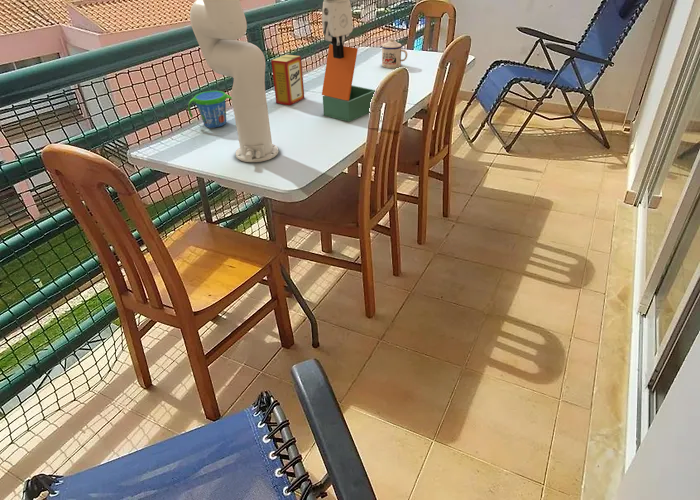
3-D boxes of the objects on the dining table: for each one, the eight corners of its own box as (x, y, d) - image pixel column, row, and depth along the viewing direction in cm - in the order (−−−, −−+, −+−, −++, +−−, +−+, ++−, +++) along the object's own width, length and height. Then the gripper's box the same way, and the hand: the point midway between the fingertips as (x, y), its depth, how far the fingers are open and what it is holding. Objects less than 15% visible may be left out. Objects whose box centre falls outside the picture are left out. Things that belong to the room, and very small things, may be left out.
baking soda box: (290, 105, 184) (285, 60, 175) (276, 103, 187) (271, 59, 178) (304, 98, 191) (300, 54, 182) (290, 96, 194) (286, 53, 185)
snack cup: (189, 131, 165) (182, 101, 159) (195, 120, 174) (189, 91, 168) (236, 128, 166) (231, 98, 160) (239, 118, 174) (235, 89, 169)
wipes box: (351, 103, 184) (351, 85, 180) (376, 109, 177) (376, 90, 174) (323, 115, 174) (322, 96, 170) (349, 121, 168) (348, 102, 164)
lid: (330, 44, 165) (329, 44, 164) (357, 48, 158) (356, 48, 158) (323, 94, 170) (321, 94, 169) (349, 100, 164) (347, 100, 163)
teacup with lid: (378, 67, 225) (378, 40, 218) (385, 62, 231) (386, 36, 225) (403, 69, 220) (404, 41, 214) (410, 64, 227) (411, 37, 220)
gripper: (328, -1, 144) (332, 64, 155) (360, -8, 153) (361, 54, 164) (310, -3, 148) (314, 61, 159) (342, -9, 158) (344, 51, 168)
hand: (338, 57), depth 161 cm, fingers closed
